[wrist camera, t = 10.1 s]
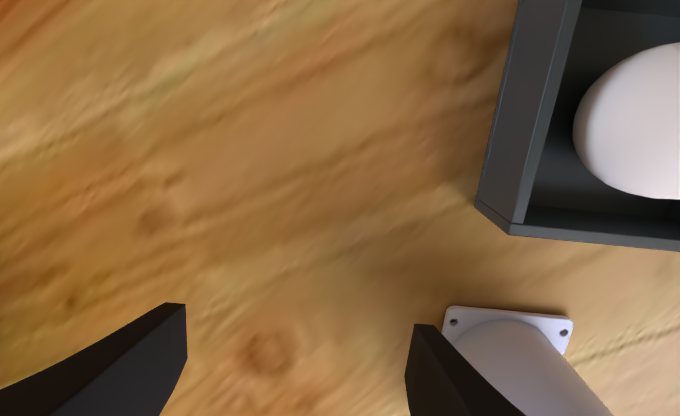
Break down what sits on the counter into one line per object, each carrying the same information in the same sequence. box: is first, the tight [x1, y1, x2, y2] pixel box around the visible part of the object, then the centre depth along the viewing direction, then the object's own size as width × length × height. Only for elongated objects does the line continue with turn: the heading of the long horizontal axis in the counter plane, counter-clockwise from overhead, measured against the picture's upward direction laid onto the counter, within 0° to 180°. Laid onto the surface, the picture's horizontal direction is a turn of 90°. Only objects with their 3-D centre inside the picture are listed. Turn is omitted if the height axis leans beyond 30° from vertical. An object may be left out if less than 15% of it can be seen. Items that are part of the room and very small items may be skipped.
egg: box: [572, 42, 680, 199], centre depth 15 cm, size 6×6×8 cm
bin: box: [474, 0, 680, 252], centre depth 17 cm, size 11×11×4 cm
